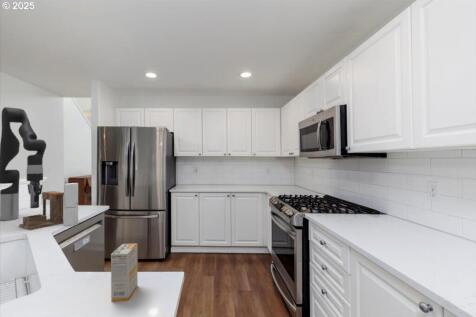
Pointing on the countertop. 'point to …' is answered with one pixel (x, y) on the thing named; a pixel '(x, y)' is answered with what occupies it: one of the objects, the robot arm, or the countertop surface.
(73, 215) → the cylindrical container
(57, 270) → the countertop surface
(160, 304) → the countertop surface
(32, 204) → the steel peg
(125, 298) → the supplement box
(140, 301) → the countertop surface
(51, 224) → the wooden frame stand
